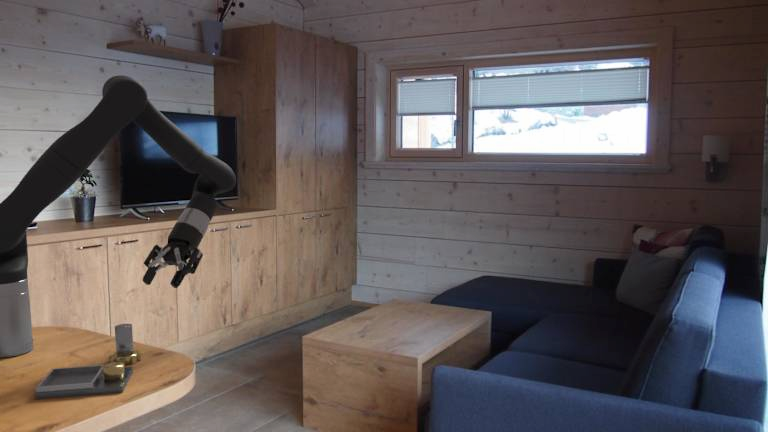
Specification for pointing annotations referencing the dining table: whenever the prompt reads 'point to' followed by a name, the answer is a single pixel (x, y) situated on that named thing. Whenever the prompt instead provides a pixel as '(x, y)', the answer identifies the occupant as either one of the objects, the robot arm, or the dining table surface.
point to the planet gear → (124, 346)
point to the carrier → (84, 381)
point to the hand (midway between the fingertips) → (159, 284)
